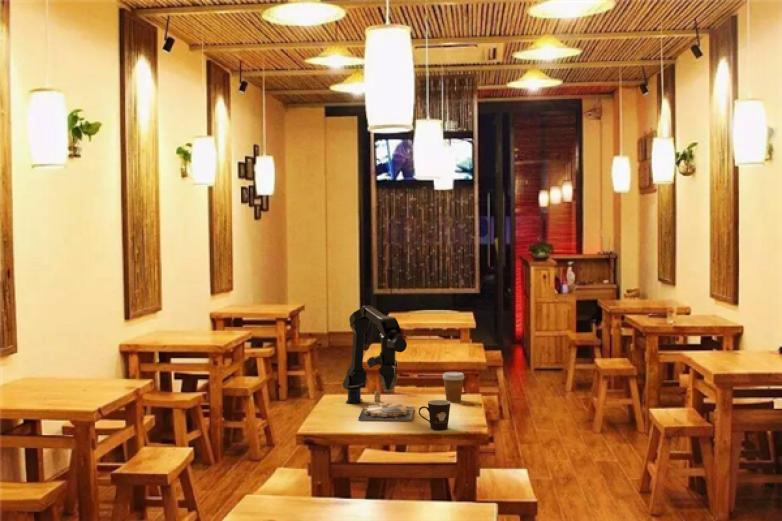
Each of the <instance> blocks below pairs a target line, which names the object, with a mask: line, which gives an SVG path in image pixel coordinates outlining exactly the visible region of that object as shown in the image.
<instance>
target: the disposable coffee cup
mask: <svg viewBox="0 0 782 521" xmlns="http://www.w3.org/2000/svg"><path fill="white" fill-rule="evenodd" d="M464 379H465V374H464V373H463V372H459V371H447V372H444V373H443V375H442V380H443V385H444V392H445V400H446V401H450V402H451V403H460V402H461V401H462V393H463V385H464Z"/></svg>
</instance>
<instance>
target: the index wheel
mask: <svg viewBox="0 0 782 521" xmlns="http://www.w3.org/2000/svg"><path fill="white" fill-rule="evenodd" d="M373 404H374V405H371V404H369V405H366V406H367V408H364V413H366V414H370V415H372V416H380V417H393V416H400V415H405V414H407V412H410V409H409V407H410V406H408V405H405V406H404V405H403V404H400V403H398V404H394V403H393V404H392V403H385V402H384V401H381V391H380V390H375V391H374V400H373Z"/></svg>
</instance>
